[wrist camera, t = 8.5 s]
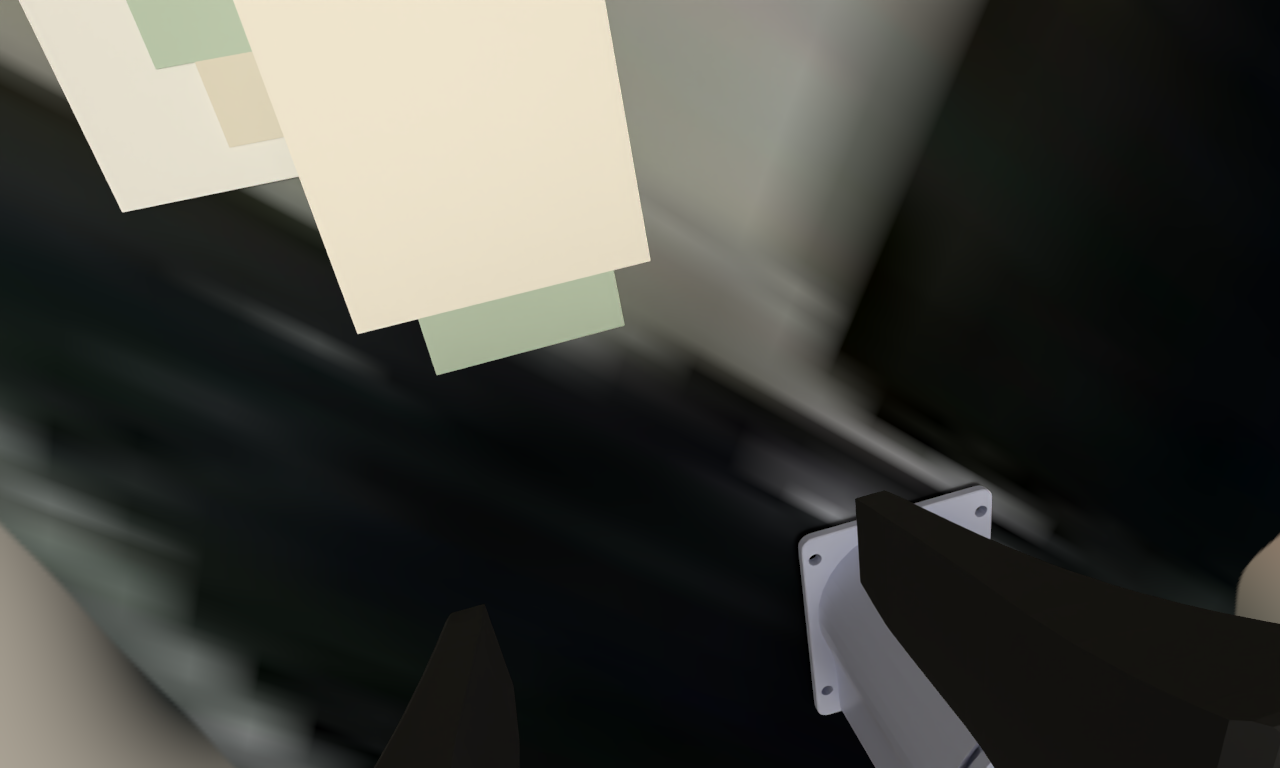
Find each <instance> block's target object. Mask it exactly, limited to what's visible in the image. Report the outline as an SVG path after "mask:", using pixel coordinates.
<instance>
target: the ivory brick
mask: <svg viewBox="0 0 1280 768" xmlns="http://www.w3.org/2000/svg"><path fill="white" fill-rule="evenodd" d="M233 2H234V4H235V7H236V10H237V12H238V15H239V18H240V20H241V23H242V26H243V28H244V31H245V34H246V36H247V39H248V42H249V44H250V47H251V50H252V52H253V55H254V58H255V61H256V63H257V66H258V69H259V71H260V74H261V77H262V79H263V82H264V85H265V87H266V90H267V93H268V95H269V98H270V101H271V103H272V106H273V109H274V111H275V114H276V117H277V120H278V122H279V125H280V128H281V130H282V133H283V136H284V138H285V141H286V144H287V146H288V149H289V152H290V154H291V157H292V160H293V162H294V165H295V168H296V170H297V173H298V176H299V178H300V181H301V184H302V186H303V189H304V192H305V195H306V197H307V200H308V203H309V205H310V208H311V211H312V213H313V216H314V219H315V221H316V224H317V227H318V229H319V232H320V235H321V237H322V240H323V243H324V245H325V248H326V251H327V254H328V256H329V259H330V262H331V264H332V267H333V270H334V272H335V275H336V278H337V280H338V283H339V286H340V288H341V291H342V294H343V296H344V299H345V302H346V304H347V307H348V310H349V312H350V315H351V318H352V321H353V323H354V326H355V329H356V331H357V334H360V333H364V332H368V331H372V330H376V329H380V328H384V327H388V326H392V325H396V324H400V323H404V322H408V321H412V320H416V319H420V318H424V317H428V316H432V315H436V314H440V313H444V312H448V311H452V310H456V309H460V308H464V307H468V306H472V305H476V304H480V303H484V302H488V301H492V300H496V299H500V298H504V297H508V296H512V295H516V294H520V293H524V292H528V291H532V290H536V289H540V288H544V287H548V286H552V285H556V284H560V283H564V282H568V281H572V280H576V279H580V278H584V277H588V276H592V275H596V274H600V273H604V272H608V271H612V270H616V269H620V268H624V267H628V266H632V265H636V264H640V263H644V262H649V261H651V260H650V254H649V249H648V243H647V237H646V232H645V226H644V220H643V215H642V209H641V203H640V198H639V192H638V186H637V180H636V175H635V169H634V163H633V158H632V152H631V146H630V141H629V135H628V129H627V124H626V118H625V112H624V106H623V101H622V95H621V89H620V84H619V78H618V72H617V67H616V61H615V55H614V50H613V44H612V38H611V32H610V27H609V21H608V15H607V10H606V4H605V0H233Z"/></svg>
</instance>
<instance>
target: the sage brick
mask: <svg viewBox="0 0 1280 768" xmlns="http://www.w3.org/2000/svg"><path fill="white" fill-rule="evenodd" d="M418 320H419V323H420V326H421V330H422V333H423V336H424V339H425V342H426V345H427V348H428V351H429V354H430V357H431V360H432V363H433V366H434V369H435V372H436V375H440V374H444V373H448V372H451V371H455V370H459V369H463V368H466V367H470V366H474V365H478V364H482V363H485V362H489V361H493V360H497V359H500V358H504V357H508V356H512V355H516V354H519V353H523V352H527V351H531V350H534V349H538V348H542V347H546V346H549V345H553V344H557V343H561V342H565V341H568V340H572V339H576V338H580V337H583V336H587V335H591V334H595V333H599V332H602V331H606V330H610V329H614V328H617V327H621V326H625V325H624V319H623V314H622V309H621V304H620V299H619V294H618V289H617V284H616V279H615V274H614V270H612V271H608V272H604V273H600V274H596V275H592V276H588V277H584V278H580V279H576V280H572V281H568V282H564V283H560V284H556V285H552V286H548V287H544V288H540V289H536V290H532V291H528V292H524V293H520V294H516V295H512V296H508V297H504V298H500V299H496V300H492V301H488V302H484V303H480V304H476V305H472V306H468V307H464V308H460V309H456V310H452V311H448V312H444V313H440V314H436V315H432V316H428V317H424V318H420V319H418Z"/></svg>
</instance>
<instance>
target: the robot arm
mask: <svg viewBox="0 0 1280 768" xmlns="http://www.w3.org/2000/svg"><path fill="white" fill-rule="evenodd" d="M855 502H856V518H857V520H855V521H851V522H848V523H845V524H841V525H838V526H834V527H831V528H827V529H824V530H820V531H817V532H813V533H810V534H807V535H805V536H804V537H803V538H802V539H801V540H800V542H799V545H798V551H799V561H800V570H801V580H802V590H803V599H804V609H805V618H806V628H807V638H808V647H809V657H810V666H811V676H812V686H813V695H814V704H815V707H816V709H817V710H818V712H819V713H820V714H822V715H829V714H832V713H835V712H839V711H843V713H844V715H845V716H846V718H847V720H848V722H849V723H850V725H851V727H852V728H853V730H854V732H855V734H856V735H857V737H858V739H859V740H860V742H861V744H862V746H863V747H864V749H865V751H866V752H867V754H868V756H869V757H870V759H871V761H872V763H873V764H874V766H875V768H1280V624H1277V623H1271V622H1266V621H1261V620H1256V619H1251V618H1246V617H1240V616H1236V615H1231V614H1225V613H1220V612H1216V611H1211V610H1207V609H1203V608H1198V607H1194V606H1189V605H1185V604H1181V603H1177V602H1173V601H1169V600H1166V599H1162V598H1158V597H1154V596H1150V595H1146V594H1142V593H1139V592H1135V591H1132V590H1128V589H1125V588H1121V587H1118V586H1115V585H1111V584H1108V583H1105V582H1102V581H1099V580H1096V579H1093V578H1090V577H1087V576H1084V575H1081V574H1078V573H1075V572H1072V571H1069V570H1066V569H1063V568H1060V567H1058V566H1055V565H1052V564H1049V563H1047V562H1044V561H1042V560H1039V559H1037V558H1034V557H1032V556H1029V555H1027V554H1024V553H1022V552H1019V551H1017V550H1014V549H1012V548H1009V547H1007V546H1005V545H1002V544H1000V543H998V542H995V541H993V540H991V539H990V538H991V513H992V494H991V492H990V491H989V490H988V489H987V488H985V487H984V486H981V485H978V486H973V487H970V488H966V489H963V490H959V491H956V492H952V493H949V494H945V495H942V496H938V497H935V498H931V499H928V500H924V501H921V502H918V503H912V502H909V501H907V500H905V499H903V498H901V497H899V496H896V495H894V494H892V493H890V492H887V491H885V490H884V491H881V492H877V493H874V494H870V495H867V496H863V497H860V498H856V499H855ZM978 507H979V509H978V510H976V509H977V508H978ZM814 554H817V555H816V556H815V557H814V558H813V559H810V557H811V556H813V555H814ZM374 768H519V733H518V723H517V713H516V704H515V696H514V687H513V683H512V680H511V678H510V675H509V672H508V669H507V666H506V664H505V661H504V658H503V655H502V652H501V649H500V647H499V644H498V641H497V638H496V635H495V632H494V630H493V627H492V624H491V621H490V618H489V616H488V613H487V610H486V607H485V604H483V605H479V606H476V607H472V608H469V609H465V610H462V611H458V612H455V613H451V614H450V616H449V617H448V619H447V620H446V623H445V625H444V627H443V630H442V632H441V635H440V637H439V639H438V642H437V644H436V646H435V649H434V651H433V653H432V655H431V658H430V660H429V662H428V664H427V667H426V669H425V671H424V673H423V675H422V678H421V680H420V682H419V684H418V686H417V688H416V690H415V692H414V694H413V696H412V698H411V700H410V702H409V704H408V706H407V708H406V710H405V712H404V714H403V716H402V718H401V720H400V722H399V724H398V726H397V727H396V729H395V731H394V733H393V735H392V737H391V738H390V740H389V742H388V744H387V746H386V747H385V749H384V751H383V753H382V755H381V756H380V758H379V760H378V762H377V764H376V765H375V767H374Z"/></svg>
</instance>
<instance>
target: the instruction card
mask: <svg viewBox="0 0 1280 768" xmlns="http://www.w3.org/2000/svg"><path fill="white" fill-rule="evenodd" d="M19 2H20V4H21V6H22V8H23V10H24V12H25V14H26V16H27V18H28V20H29V22H30V24H31V26H32V28H33V30H34V32H35V34H36V37H37V39H38V41H39V43H40V45H41V47H42V49H43V51H44V53H45V55H46V57H47V59H48V61H49V63H50V65H51V67H52V69H53V71H54V73H55V75H56V77H57V80H58V82H59V84H60V86H61V88H62V90H63V92H64V94H65V96H66V98H67V100H68V102H69V104H70V106H71V108H72V110H73V112H74V114H75V116H76V118H77V121H78V123H79V125H80V127H81V129H82V131H83V133H84V135H85V137H86V139H87V141H88V143H89V145H90V147H91V149H92V151H93V153H94V155H95V157H96V159H97V162H98V164H99V166H100V168H101V170H102V172H103V174H104V176H105V178H106V180H107V182H108V184H109V186H110V188H111V190H112V192H113V194H114V196H115V198H116V200H117V203H118V205H119V207H120V209H121V211H122V212H127V211H132V210H137V209H142V208H147V207H152V206H157V205H162V204H167V203H171V202H176V201H181V200H186V199H191V198H196V197H201V196H206V195H211V194H216V193H220V192H225V191H230V190H235V189H240V188H245V187H250V186H255V185H260V184H265V183H269V182H274V181H279V180H284V179H289V178H294V177H299V176H298V173H297V170H296V168H295V165H294V162H293V160H292V157H291V154H290V152H289V149H288V146H287V144H286V141H285V138H284V136H283V133H282V130H281V128H280V125H279V122H278V120H277V117H276V114H275V111H274V109H273V106H272V103H271V101H270V98H269V95H268V93H267V90H266V87H265V85H264V82H263V79H262V77H261V74H260V71H259V69H258V66H257V63H256V61H255V58H254V55H253V52H252V50H251V47H250V44H249V42H248V39H247V36H246V34H245V31H244V28H243V26H242V23H241V20H240V18H239V15H238V12H237V10H236V7H235V4H234V2H233V0H19Z"/></svg>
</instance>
